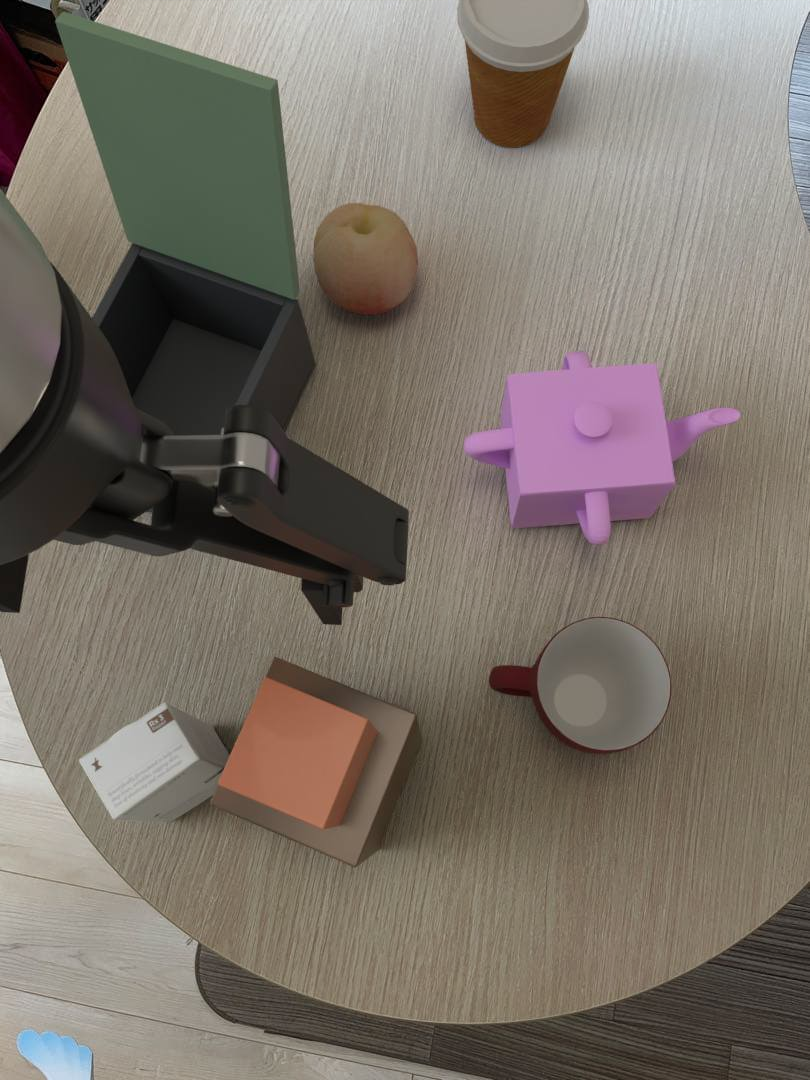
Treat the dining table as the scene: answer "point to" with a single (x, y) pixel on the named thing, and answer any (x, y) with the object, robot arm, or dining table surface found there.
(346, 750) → the block
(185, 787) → the cosmetic box
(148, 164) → the bin lid
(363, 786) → the stand
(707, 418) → the teapot
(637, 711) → the mug
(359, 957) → the dining table surface
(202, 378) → the bin
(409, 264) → the fruit
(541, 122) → the disposable coffee cup
